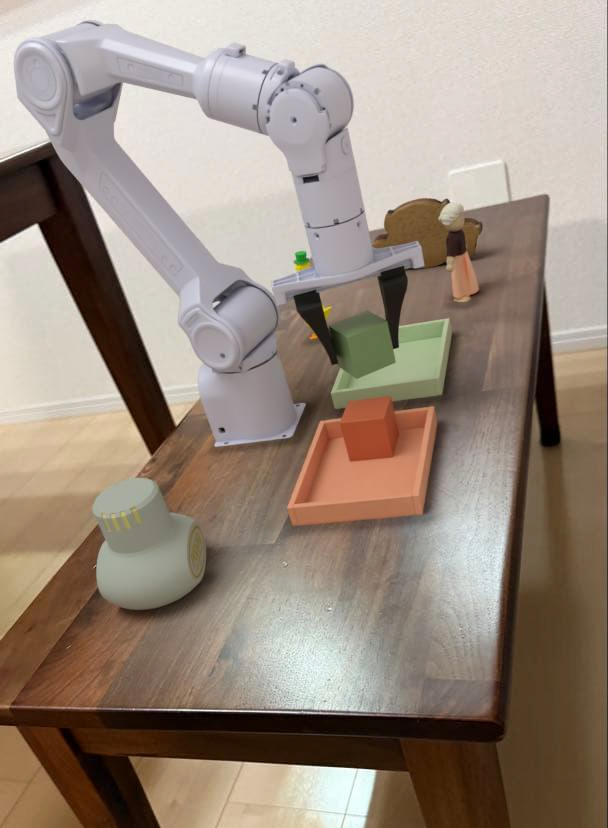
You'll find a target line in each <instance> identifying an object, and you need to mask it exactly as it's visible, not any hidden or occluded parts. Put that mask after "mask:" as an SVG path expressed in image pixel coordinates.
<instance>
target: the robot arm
mask: <svg viewBox="0 0 608 828" xmlns="http://www.w3.org/2000/svg"><path fill="white" fill-rule="evenodd" d="M13 73H14V80H15V90H16V98H17V99H18V101H19V102H20V103H21V104H22V105H23V107H24V108H25V109H26V110H27V111H28V112H29V114H30V115H31V116H32V117H33V118H34V119H35V120H36V122H37V123H38V124H39V125H40V126H41V128H42V129H44V131H45V133H46V135H47V138H48V139H49V141H50V143H51V145H52V146H53V148H54V151H55V152H56V154H57V156H58V157H59V159H60V161H61V162H62V163H63V165H64V166H65V167H66V168H67V170H69V172H70V173H71V174H72V175H73V176H74V177H75V179H76V180H77V181H78V182H79V183H80V185H81V186H82V187H83V188H84V189H85V190H86V192H87V193H88V194H89V195H90V197H92V198H93V200H94V201H95V202H96V203H97V204H98V205H99V206H100V207H101V209H102V210H103V211H104V213H106V215H108V217H109V218H110V219H111V221H113V222H114V224H115V225H116V226H117V227H118V228H119V230H120V231H121V232H122V233H123V234H124V235H125V237H127V239H128V240H129V241H130V243H132V244H133V246H134V247H135V248H136V250H138V251H139V253H140V254H141V255H142V256H143V257H144V259H145V260H146V261H147V262H148V263H149V264H150V266H152V268H153V269H154V270H155V271H156V273H158V274H159V276H160V277H161V278H162V279H163V281H165V284H167V285H168V287H170V288H171V290H172V291H173V292H174V294H176V296H177V297H178V299H179V301H178V312H177V325H178V327H180V329H181V330H182V331H183V332H184V333H185V335H186V336H187V338H188V340H189V342H190V345H191V347H192V350H193V352H194V354H195V355H196V356H197V358H198V359H199V360H200V361H201V363H202V364H201V366H200V368H199V369H198V373H197V389H198V390H197V391H198V395H199V398H200V403H201V405H202V408H203V410H204V412H205V416H206V420H207V421H208V424H209V427H210V430H211V432H212V435H213V437H214V441H215V443H214V444H213V446H214V448H218V447H224V446H225V447H226V446H233V445H234V446H235V445H242V444H251V443H257V442H266V441H273V440H282V439H290V438H292V437H293V436H294V434H295V433H296V429H297V427H298V424H299V422H300V420H301V417H302V415H303V413H304V411H305V408H306V405H307V404H306V403H305V402H300V403H294V401H293V397H292V393H291V390H290V387H289V383H288V380H287V377H286V376H287V375H286V373H285V368H284V366H283V362H282V359H281V356H280V353H279V349H278V344H277V343H278V337H277V334H276V331H277V330H278V328H279V326H280V323H281V315H282V313H281V308H280V306H283V305H286V304H288V302H289V301H293V300H294V304H295V305H294V306H295V310H296V312H297V313H298V315H299V316H300V318H301V319H303V321H304V322H305V324H306V323H307V324H308V325H309V326H310V327H309V326H308V327H309V328H310V329H311V330H312V331H313V334H314V333H315V334H316V335H317V337H318V338H317V339H318V340H319V342H320V343H321V345H322V346H323V349H324V350H325V352H326V354H327V357H328V358H329V362H330V365H331V366H335V365H338V359H337V355H336V351H335V347H334V344H333V341H332V338H331V334H330V330H329V326H328V323H327V321H326V319H325V315H324V311H323V307H322V305H323V303H322V299H321V295H320V293H322V292H325V291H329V290H333V289H338V288H341V287H345V286H349V285H351V284H355V283H358V282H363V281H366V280H370V279H373V278H377V283H378V286H379V291H380V295H381V299H382V304H383V310H384V317H385V320H387V321H388V326H389V331H390V336H391V341H392V346H393V349H396V348H399V340H398V333H399V326H400V319H401V314H402V309H403V308H402V307H403V304H404V300H405V297H406V293H407V291H408V285H409V279H408V275H407V273H406V269H421V268H420V267H423V266H424V260H423V254H422V248H421V245H420V244H419V242H418V241H415V242H412V243H407V244H403V245H397V246H391V247H385V248H379V249H377V248H373V246H372V245H373V243H372V239H371V235H370V231H369V224H368V219H367V215H366V210H365V205H364V201H363V200H364V198H363V195H362V189H361V185H360V179H359V174H358V170H357V165H356V161H355V156H354V152H353V151H354V150H353V147H352V141H351V137H350V133H349V132H350V131H349V127H348V125H349V124H350V122H351V120H352V118H353V114H354V107H355V103H354V101H355V100H354V95H353V91H352V88H351V86H350V84H349V82H348V81H347V79H346V78H345V77H344V75H342V74H341V73H340V72H339V71H337V70H336V69H334V68H332V67H329V66H328V65H327V64H325V63H323V62H321V63H315V64H312V65H310V66H308V67H305V69H303V70H302V71H299V69H298V68H297V67H296V62H295V61H293V60H291V59H286V58H284V59H282V60H280V61H279V62H276V61H273V60H269V59H265V58H261V57H258V56H254V55H250V54H247V46H246V45H245V44H241V43H237V42H232V43H230V44H227V45H225V47H217V48H215V49H214V50H213V51H212V52H210V54H208V56H206V57H202V56H199V55H197V54H194V53H191V52H188V51H185V50H183V49H180V48H176V47H174V46H171V45H168V44H165V43H163V42H160V41H157V40H154V39H152V38H148V37H146V36H143V35H139V34H137V33H134V32H132V31H128V30H126V29H125V28H123V27H122V26H121V25H119V24H117V23H103V22H101V21H98V20H95V19H85V20H83V21H81V22H79V23H77V24H76V25H74V26H71V27H68V28H64V29H61V30H58V31H54V32H51V33H48V34H45V35H42V36H38V37H35V36H33V37H32V36H31V37H29V38H26V39H24V40H22V41H21V42H20V43H19V44H18V46H17V47H16V49H15V52H14V55H13ZM124 84H128V85H132V86H137V87H141V88H145V89H149V90H154V91H159V92H162V93H167V94H170V95H171V94H172V95H176V96H179V97H185V98H188V99H192V100H196V101H197V102H198V105H199V107H200V109H201V111H202V112H203V114H204V115H205V117H207V118H208V119H210V120H213V121H216V122H217V121H218V122H221V123H224V124H227V125H231V126H233V127H237V128H240V129H244V130H247V131H251V132H254V133H256V134H259V135H263V136H266V137H269V138H270V140H271V141H272V143H273V144H274V146H275V147H276V148H277V149H278V150H279V151H280V152H281V153H282V154H283V155H284V157H285V159H286V163H287V167H288V171H289V172H290V173H291V178H292V181H293V185H294V189H295V193H296V197H297V201H298V205H299V210H300V214H301V217H302V222H303V226H304V230H305V234H306V237H307V242H308V246H309V250H310V254H311V258H312V262H313V265H310V266H311V267H309V268H306V269H304V270H301V271H299V272H296V271H295V272H293V273H291V274H289V275H286V276H283V277H280V278H277V279H273V280H270V287H271V291H272V292H271V291H270V290H269V289H268V288H267V287H265V286H264V285H262V284H259V283H257V282H256V281H254V280H253V279H252V278H250V276H249V275H248V274H247V273H246V272H245V271H244V269H243V268H240V267H238V266H234V265H229V264H225V263H222V262H219V261H218V260H217V259H216V258H215V257H214V256H213V254H212V253H211V252H210V251H209V250H208V248H207V247H206V246H205V245H204V244H203V243H202V241H201V240H200V239H199V238H198V236H196V234H195V233H194V231H192V230H191V228H190V227H189V226H188V225H187V223H186V222H185V221H184V220H183V218H181V216H180V215H179V214H178V213H177V212H176V210H175V209H174V208H173V206H171V204H170V203H169V201H167V200H166V198H165V197H164V196H163V195H162V194H161V192H160V191H159V190H158V189H157V188H156V187H155V186H154V184H153V183H152V182H151V181H150V179H149V178H148V177H147V176H146V175H145V173H144V172H143V171H142V170H141V169H140V168H139V167H138V165H137V164H136V163H135V161H133V160H132V158H131V157H130V156H129V155H128V153H126V151H125V150H124V148H123V147H122V146H121V145H120V144H119V143H118V141H117V140H116V138H115V122H116V120H117V115H118V111H119V106H120V100H121V96H122V91H123V85H124ZM411 267H413V268H411ZM217 302H218V303H217ZM214 303H217V304H216V305H215V306H214V305H213V304H214ZM307 324H306V325H307Z"/></svg>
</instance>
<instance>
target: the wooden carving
mask: <svg viewBox="0 0 608 828" xmlns="http://www.w3.org/2000/svg"><path fill="white" fill-rule="evenodd" d="M449 203H451V201H450V200H449V199H448V198H444V199H443V200H439V199H436V198H432V197H421V198H417V199H412V200H409V201H406V202H404V203H401V204H400V205H398V206H397V207H395V208H394V209H388V210H387V212H386V213H385V216H384V220H383V228H384V230H385V232H386V233H381V234H378V235H377V236H376V237H375V238H374V242H373V243H372V248H373V249H379V248H385V247H391V246H397V245H403V244H407V243H412V242H415V241H418V242H419V244H420V245H421V248H422V254H423V260H424V266H423V267H420V268H419V269H429V268H433V267H437V266H440V265H442V264H444V263H447V257H446V254H447V247H446V239H447V236H448V233H449V231H448V230H447V229H446V227H445V225H444V224H442V222H440V221H439V220H438V218H439V216H440V213H441V212H442V210H443V208H444V207H445V206H446V205H447V204H449ZM483 227H484V226H483V222H482V221H479V220H477V219H475V218H474V217H473V218H471V217H464V225H463V227H462V228H461V229H462V230H463V232H464V234H465V242H466V245H467V253H468V255H469V257H472V256H474V255H476V250H477V249H476V247H477V245H478V238H479V236H480V235H481V233H482V231H483ZM410 269H414V268H413V267H411V268H410Z"/></svg>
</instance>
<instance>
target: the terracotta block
mask: <svg viewBox="0 0 608 828" xmlns="http://www.w3.org/2000/svg"><path fill="white" fill-rule="evenodd" d="M394 411H395V408H394V403H393V401H392V399H391V396H387V397H379V398H371V399H363V400H355V401H348V403H347V406H346V408H344V411H343V413H342V417H341V418H342V419H341V421H340V426H341V429H342V433H343V437H344V441H345V445H346V449H347V453H348V457H349V460H350V461H359V460H369V459H379V458H389V457H393V455H394V451H395V447H396V444H397V440H398V436H399V431H398V427H397V422H396V417H395V413H394Z"/></svg>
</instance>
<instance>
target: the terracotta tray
mask: <svg viewBox="0 0 608 828" xmlns="http://www.w3.org/2000/svg"><path fill="white" fill-rule="evenodd" d="M394 413H395V417H396V422H397V427H398V431H399V436H398V440H397V444H396V447H395V451H394V455H393V457H389V458H379V459H369V460H359V461H350V460H349V457H348V453H347V449H346V445H345V441H344V437H343V433H342V429H341V426H340V421H341V419H342V417H340V418H332V419H326V420H325V419H324V420H320V421H319V423H318V425H317V428H316V431H315V433H314V436H313V439H312V440H311V441H312V442H311V444H310V447H309V449H308V452H307V455H306V457H305V459H304V462H303V465H302V467H301V469H300V473H299V476H298V478H297V480H296V483H295V485H294V488H293V490H292V494H291V496H290V499H289V502H288V504H287V507H286V510H287V513H288V517H289V520H290V522H291V526H292V527H297V526H309V525H318V524H319V525H321V524H331V523H332V524H333V523H343V522H353V521H365V520H377V519H387V518H397V517H410V516H421V515H423V514H424V509H425V503H426V496H427V491H428V485H429V477H430V471H431V467H432V466H431V465H432V459H433V453H434V447H435V440H436V434H437V428H438V420H437V414H436V409H435V406H434V405H433V406H432V405H431V406H427V407H425V406H424V407H417V408H410V409H402V410H394Z"/></svg>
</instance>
